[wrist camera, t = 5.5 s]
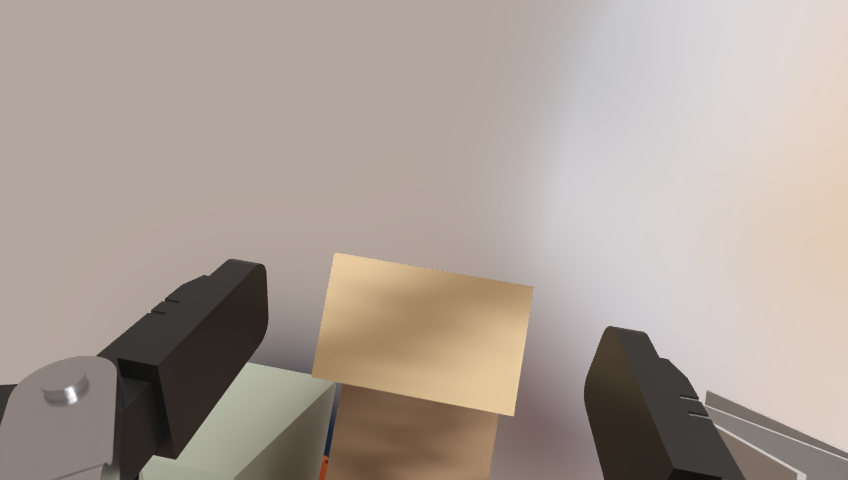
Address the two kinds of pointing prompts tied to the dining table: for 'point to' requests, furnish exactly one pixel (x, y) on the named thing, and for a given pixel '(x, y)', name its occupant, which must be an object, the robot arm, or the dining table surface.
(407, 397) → the tall wooden block
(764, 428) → the grey tall block
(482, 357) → the oak strip
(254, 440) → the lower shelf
